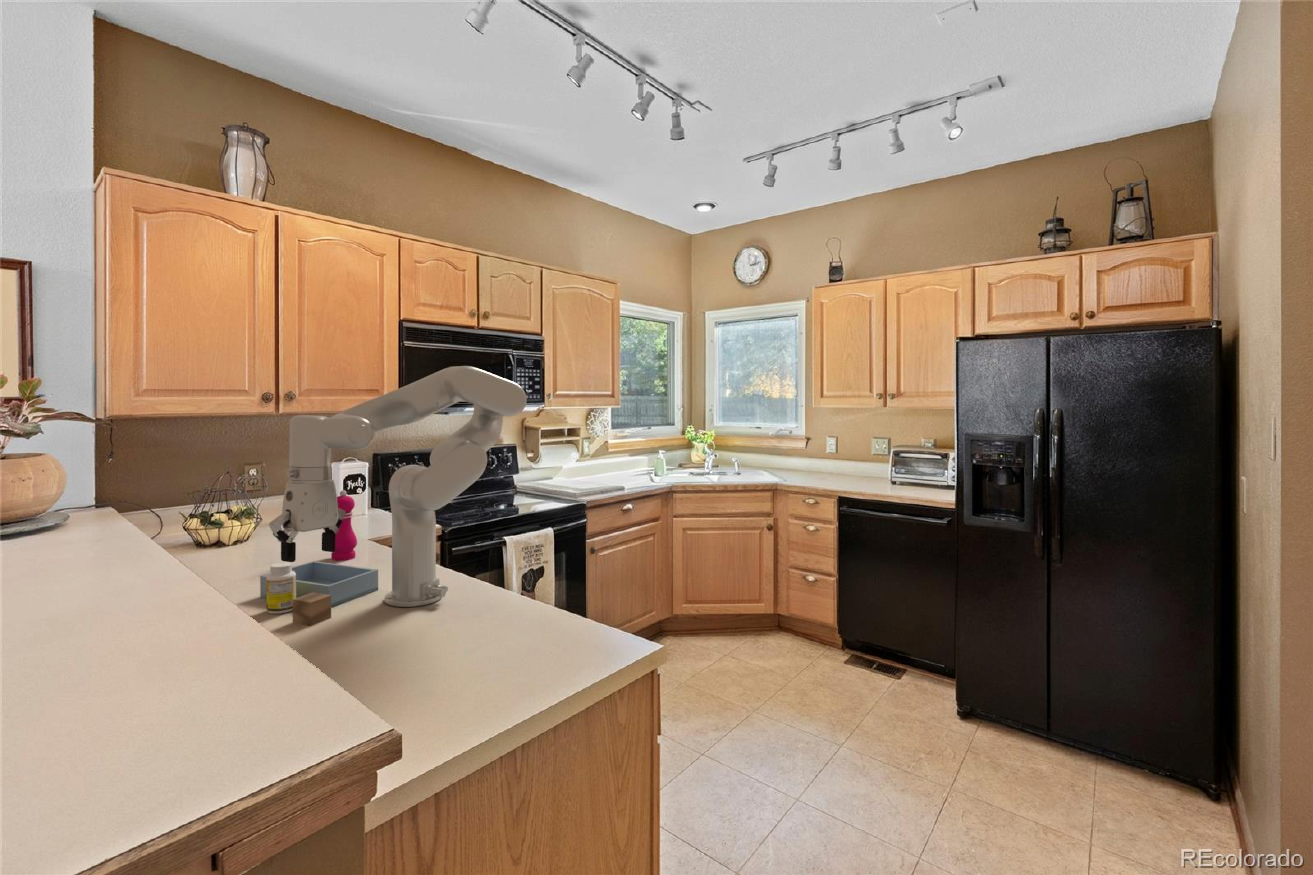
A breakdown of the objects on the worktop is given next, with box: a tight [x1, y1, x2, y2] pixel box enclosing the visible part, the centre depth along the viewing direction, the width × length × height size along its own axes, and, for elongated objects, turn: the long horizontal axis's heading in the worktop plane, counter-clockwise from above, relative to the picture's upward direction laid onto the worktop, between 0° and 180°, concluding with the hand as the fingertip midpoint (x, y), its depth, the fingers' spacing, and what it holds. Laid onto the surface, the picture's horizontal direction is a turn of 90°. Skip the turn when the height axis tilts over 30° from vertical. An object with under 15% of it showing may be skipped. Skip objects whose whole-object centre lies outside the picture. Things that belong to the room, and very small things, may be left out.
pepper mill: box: [330, 489, 358, 562], centre depth 175 cm, size 7×7×20 cm
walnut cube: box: [292, 593, 332, 627], centre depth 126 cm, size 5×5×5 cm
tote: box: [259, 560, 379, 608], centre depth 144 cm, size 21×15×5 cm
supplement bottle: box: [266, 561, 296, 615], centre depth 132 cm, size 6×6×10 cm
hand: (309, 556), depth 125 cm, fingers open, 9 cm apart
